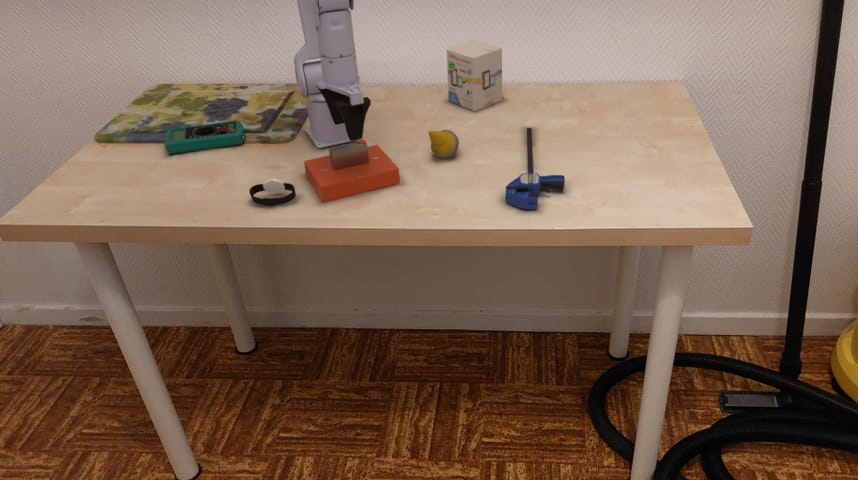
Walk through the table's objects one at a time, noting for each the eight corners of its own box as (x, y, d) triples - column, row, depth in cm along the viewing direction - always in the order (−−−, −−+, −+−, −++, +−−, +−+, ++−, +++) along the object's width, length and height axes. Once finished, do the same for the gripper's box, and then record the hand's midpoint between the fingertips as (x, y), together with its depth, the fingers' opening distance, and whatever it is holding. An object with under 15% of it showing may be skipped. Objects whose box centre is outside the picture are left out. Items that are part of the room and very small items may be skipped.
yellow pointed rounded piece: (467, 157, 139) (444, 138, 130) (442, 167, 141) (418, 149, 132) (461, 132, 141) (438, 112, 132) (437, 143, 142) (412, 123, 134)
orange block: (323, 202, 126) (320, 185, 124) (306, 175, 134) (303, 160, 132) (400, 183, 130) (398, 167, 129) (379, 159, 139) (377, 143, 137)
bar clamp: (567, 197, 119) (505, 197, 120) (567, 210, 121) (505, 210, 121) (558, 122, 146) (508, 122, 147) (558, 133, 148) (508, 134, 148)
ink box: (447, 101, 161) (445, 48, 154) (476, 90, 165) (474, 38, 159) (474, 112, 155) (473, 57, 149) (503, 100, 160) (503, 47, 153)
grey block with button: (333, 170, 129) (330, 150, 127) (331, 166, 130) (328, 146, 128) (369, 162, 131) (366, 142, 129) (366, 158, 132) (364, 138, 130)
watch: (298, 193, 129) (295, 174, 127) (294, 206, 125) (290, 187, 123) (254, 194, 129) (250, 176, 127) (248, 208, 125) (244, 189, 123)
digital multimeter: (245, 145, 146) (242, 131, 144) (167, 156, 143) (163, 142, 141) (245, 130, 152) (242, 117, 150) (169, 140, 149) (165, 127, 147)
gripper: (300, 44, 123) (312, 121, 131) (328, 70, 112) (340, 152, 120) (340, 37, 126) (350, 112, 133) (371, 61, 115) (380, 142, 123)
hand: (348, 130), depth 127 cm, fingers open, 7 cm apart
